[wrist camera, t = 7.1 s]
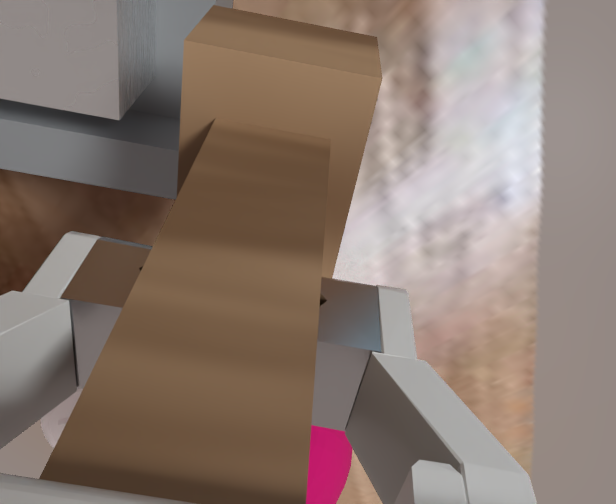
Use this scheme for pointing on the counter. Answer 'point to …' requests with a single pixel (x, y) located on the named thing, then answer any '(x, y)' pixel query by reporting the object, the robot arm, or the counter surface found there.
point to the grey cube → (77, 53)
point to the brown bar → (232, 273)
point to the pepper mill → (327, 465)
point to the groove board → (112, 123)
